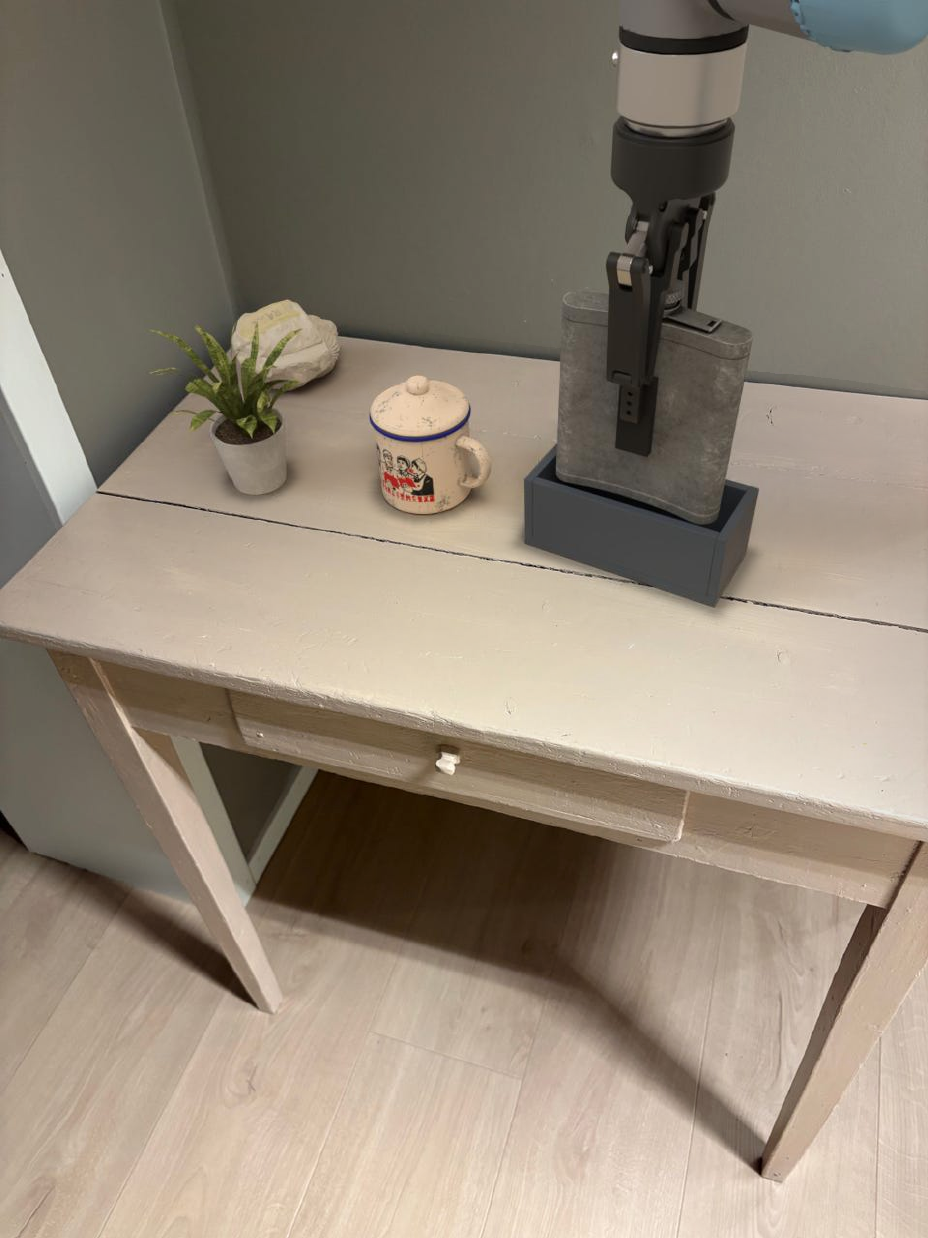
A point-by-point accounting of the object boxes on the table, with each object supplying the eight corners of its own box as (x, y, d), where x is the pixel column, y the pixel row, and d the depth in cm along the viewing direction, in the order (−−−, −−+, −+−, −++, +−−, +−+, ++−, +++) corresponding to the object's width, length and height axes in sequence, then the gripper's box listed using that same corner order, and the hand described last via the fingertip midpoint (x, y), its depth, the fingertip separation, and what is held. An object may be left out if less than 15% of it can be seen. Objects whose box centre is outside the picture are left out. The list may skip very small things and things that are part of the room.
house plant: (147, 514, 91) (92, 358, 80) (212, 434, 100) (171, 284, 89) (285, 534, 88) (248, 374, 76) (339, 449, 97) (313, 296, 86)
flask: (569, 455, 84) (579, 253, 71) (727, 503, 78) (769, 294, 65) (549, 477, 81) (556, 273, 69) (710, 528, 76) (750, 317, 63)
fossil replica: (362, 361, 110) (288, 355, 114) (349, 289, 105) (273, 285, 109) (307, 407, 102) (230, 399, 106) (291, 331, 97) (211, 325, 100)
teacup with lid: (360, 497, 91) (343, 389, 83) (419, 450, 96) (408, 344, 88) (461, 540, 86) (454, 429, 78) (518, 489, 91) (517, 379, 83)
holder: (746, 554, 83) (759, 488, 78) (714, 607, 78) (726, 541, 73) (563, 497, 90) (564, 433, 85) (524, 543, 85) (523, 478, 80)
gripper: (669, 73, 66) (642, 377, 82) (559, 151, 56) (553, 478, 72) (776, 84, 63) (726, 397, 79) (680, 169, 53) (645, 507, 69)
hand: (643, 435), depth 76 cm, fingers closed on flask, 3 cm apart
